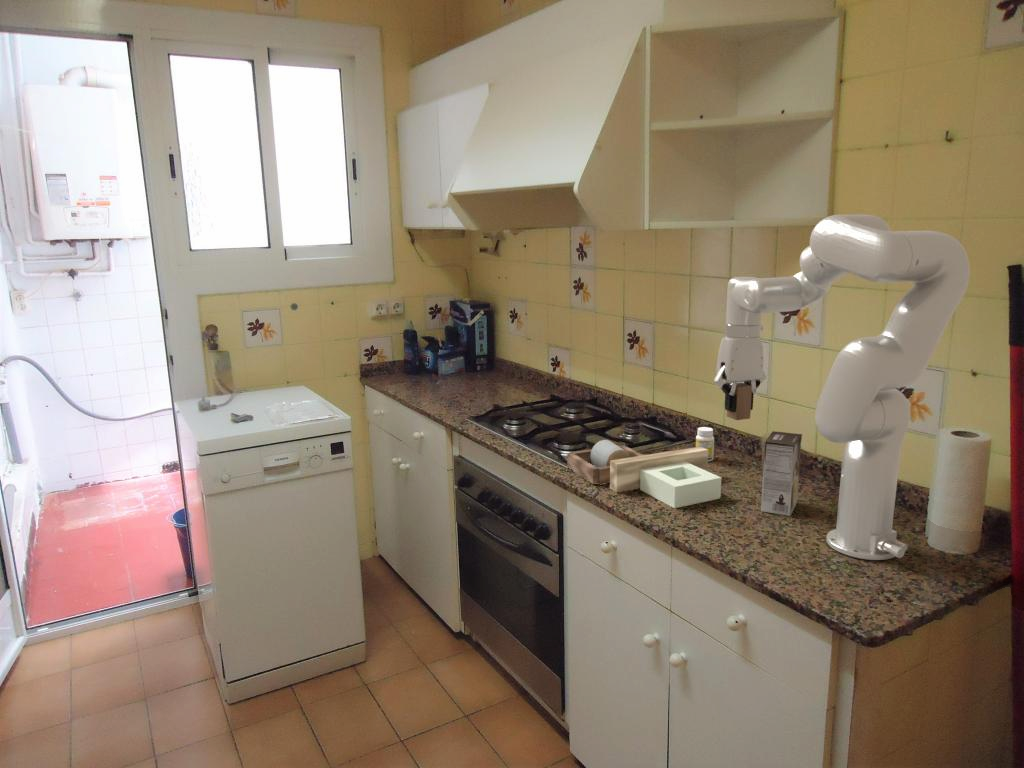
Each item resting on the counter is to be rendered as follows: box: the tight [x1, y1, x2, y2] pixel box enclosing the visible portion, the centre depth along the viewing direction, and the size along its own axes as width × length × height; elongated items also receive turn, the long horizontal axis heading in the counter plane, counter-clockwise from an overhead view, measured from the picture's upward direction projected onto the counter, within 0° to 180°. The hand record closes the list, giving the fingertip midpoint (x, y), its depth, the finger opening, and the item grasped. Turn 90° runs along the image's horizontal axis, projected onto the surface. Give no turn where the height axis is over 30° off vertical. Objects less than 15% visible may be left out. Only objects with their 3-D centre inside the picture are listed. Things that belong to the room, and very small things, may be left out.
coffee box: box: [760, 430, 803, 517], centre depth 156 cm, size 9×6×16 cm
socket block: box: [639, 461, 722, 509], centre depth 165 cm, size 13×13×5 cm
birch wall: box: [609, 446, 709, 494], centre depth 172 cm, size 3×26×7 cm, turn 113°
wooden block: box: [726, 382, 752, 421], centre depth 165 cm, size 4×4×8 cm
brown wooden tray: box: [566, 444, 644, 485], centre depth 181 cm, size 15×17×4 cm
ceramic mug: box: [590, 439, 629, 468], centre depth 181 cm, size 11×8×8 cm
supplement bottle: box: [695, 426, 715, 462], centre depth 189 cm, size 5×5×8 cm
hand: (738, 409), depth 166 cm, fingers closed on wooden block, 4 cm apart
